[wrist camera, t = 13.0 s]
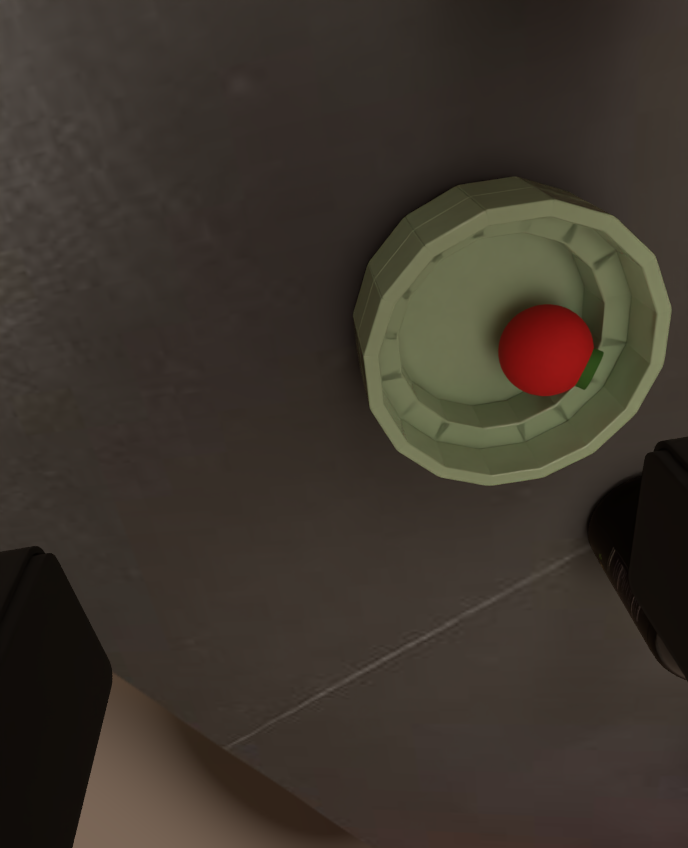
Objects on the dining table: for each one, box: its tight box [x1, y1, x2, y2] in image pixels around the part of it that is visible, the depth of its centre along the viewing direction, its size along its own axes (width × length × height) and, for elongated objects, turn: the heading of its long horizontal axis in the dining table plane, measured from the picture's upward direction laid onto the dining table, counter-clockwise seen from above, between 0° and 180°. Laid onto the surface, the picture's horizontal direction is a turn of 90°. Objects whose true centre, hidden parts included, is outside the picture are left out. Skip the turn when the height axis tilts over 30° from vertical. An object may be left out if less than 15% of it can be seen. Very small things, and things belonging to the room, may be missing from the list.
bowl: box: [353, 176, 672, 486], centre depth 28 cm, size 12×12×5 cm
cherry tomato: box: [498, 304, 604, 396], centre depth 28 cm, size 4×4×4 cm
